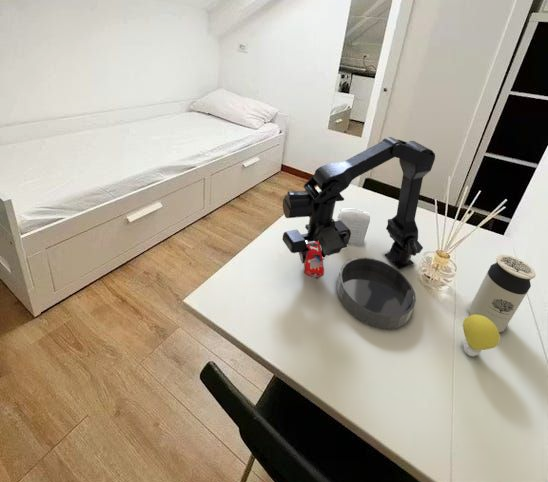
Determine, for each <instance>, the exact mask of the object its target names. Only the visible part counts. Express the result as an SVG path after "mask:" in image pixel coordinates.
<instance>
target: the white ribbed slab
mask: <svg viewBox="0 0 548 482" xmlns="http://www.w3.org/2000/svg"><path fill="white" fill-rule="evenodd" d="M339 220H340V221H341V222H343V223H344V224H345V225H346V226H347V227H348V228H349V229H350V231H351V236H350V239H349V242H348V244H349V245H355V246H363V245H364V242H365V238H366V235H367V232H368V228H369V225H370V221H371V215H370V212H368V211H365V210H363V209H358V208H351V207H350V208H349V207H347V208H346V207H345V208H340V210H339V212H338V215H337V219H336V221H339Z"/></svg>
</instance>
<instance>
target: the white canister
mask: <svg viewBox="0 0 548 482" xmlns="http://www.w3.org/2000/svg"><path fill="white" fill-rule="evenodd" d="M495 260H496V262H495V263H493V264H491V265H490V267H489V268H488V270H487V272H486V274H485V276H484V278H483V280H482V282H481V284H480V286H479V287H478V289H477V292H476V293H475V295H474V298H473V299H472V301H471V303H470V305H469V306H468V307H469V308H468V313H469V316H470V315H475V314H477V315H482V316H485V317H486V318H488V319H490V320H491V321H492V322H493V323H494V324H495V326H496V327H497V329H498V332H499V333H502V332H504V331H505V330H506V328H507V326H508V325H509V323H510V321H511V320H512V318H513V317H514V315H515V314H516V312H517V311H518V309H519V307H520V306H521V304H522V302H523V300H524V298H525V297H526V295H527V293H528V292H529V290H530V289H531V287H532V285H531V284H532V283H531V280H533V279H535V278H536V272H535V270H534V268H532V267H531V266H530V265H529V264H528V263H526V262H525V261H523V260H521V259H519V258H517V257H515V256H512V255H508V254H499V255H497V256H496V258H495Z"/></svg>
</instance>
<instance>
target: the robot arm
mask: <svg viewBox="0 0 548 482" xmlns="http://www.w3.org/2000/svg"><path fill="white" fill-rule="evenodd" d="M394 158H397V159H399V160H398V161H399V166H400V168H401V170H402V178H401V185H400V189H399V190H400V191H399V198H398V203H397V208H396V215H394V216H393V217H392V218H389V219H387V225H386V228H385V229H386V230H387V233H388V235H389V237H390V238H391V239H392V240H393V243H392V245H391V248H390V249H389V252H386V253H384V257H385V258H386V259H388V261H389V262H391V263H392V264H393V265H394V266H395V267H396V269H397V270H398V269H399V270H401V269H405V268H408V267H411V266H413V265H414V264H415V263H414V261H413V260H411V258H412V256H413V257H414V256H416V255H417V254H420V253H421V252H422V250H423V248H424V247H423V245H422V244H421V243H420V242H419V241H418V240H419V228H418V225H417V222H416V216H417V209H418V204H419V198H420V195H421V191H422V190H421V189H422V184H423V181H424V180H423V179H424V177H425V176H426V175H428V174H429V173H430V172H431V171H432V168H433V165H434V163H435V161H436V153H435V152H434V151H433V150H432V149H430V148H428V147H427V146H425V145H422V144H421V143H419V142H417V141H415V140H409V141H405V140H401V139H397V138H394V137H392V136H387V137H385V138H383V139H382V140H381V141H380V142H378V143H376V144H374V145H373V146H371V147H369V148H366V149H365V150H363V151H361V152H358V153H357V154H355V155H353V156H351V157H350V158H348V159H346V160H343V161H338V162H336V161H335V162H331V163H326V164H324V165H321V166H320V167H318V168H316V169H315V171H314V174H312V176H311V177H310V178H309V179H308V180H307V181H306V182H305V184H303V189H304V190H299V191H298V190H297V191H295V190H288V191H287V193H286V195H284V197H283V198H282V210H283V211H282V212H283V215H284V217H285V218H286V219H295V218H296V219H297V218H307V217H308V218H309V220H308V223H306V224H305V226H304V228H305V229H306V230H307V233H302V234H301V232H299V230H298V229H292V230H288V231H284V232H283V233H282V239H281V240H282V241H283V243H284V244H285V246H286V247H287V249H288V250H289V252H290V253H292V254H296V253H297V254H298V255H299V259H300V262H301V263H302V264H304V262H305V259H306V254H307V251H310V249H309V248H308V247H307V245H308V242H312V241H315V242H317V241H318V242H319V244H320V247H321V252H322V258H324V259H325V258H326V257H328V256H329V257H330V256H332V255H335V254H339V253H340V252H341V251H342V250H343V249H346V248H348V244H349V243H348V242H349V239H350V236H351V231H350V229H349V228H348V227H347V226H346V225H345V224H344V223H343V222H341V221H340V220H339V221H337V220H335V219H333V216H334V212H335V208H336V207H335V206H336V203H337V202H343V201H345V198H344V196H343V195H342V194H341V193H342V192H344V191H345V190H346V189H347V188H348V187H349V186H350V185H351V183H352V181H353V180H355V179H356V178H358V177H360V176H361V175H364V174H365V173H368V172H369V171H371V170H373V169H375V168H377V167H379V166H381V165H382V164H385V163H386V162H388V161H390V160H393V159H394ZM316 186H317V187H318V189H319V190H320V191H318V189H316Z"/></svg>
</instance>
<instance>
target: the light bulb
mask: <svg viewBox="0 0 548 482" xmlns="http://www.w3.org/2000/svg"><path fill="white" fill-rule="evenodd" d="M462 328H463V329H462V330H463V334H464V337H465V339H464V341H463V343H462V345H463V351H464V352H465V354H466V355H468V356H470V357H475V356H479V355H480V353H481V352H482V351H486V350H490V349H494V348H496V347H497V346H498V345H499V343H500V339H501V337H500V336H501V335H500V332H498V329H497V327H496V326H495V324H494V323H493V322H492V321H491V320H490V319H488V318H486V317H485V316H482V315H477V314H475V315H470V314H469V315H468V316H467V317H466V318H464V319H463V322H462Z"/></svg>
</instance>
